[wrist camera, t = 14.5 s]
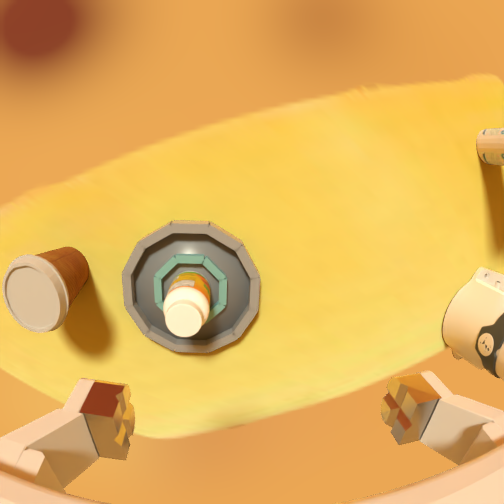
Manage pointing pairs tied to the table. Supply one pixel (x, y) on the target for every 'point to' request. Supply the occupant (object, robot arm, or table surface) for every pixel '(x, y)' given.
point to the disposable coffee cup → (44, 287)
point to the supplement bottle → (187, 303)
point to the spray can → (491, 146)
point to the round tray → (199, 260)
